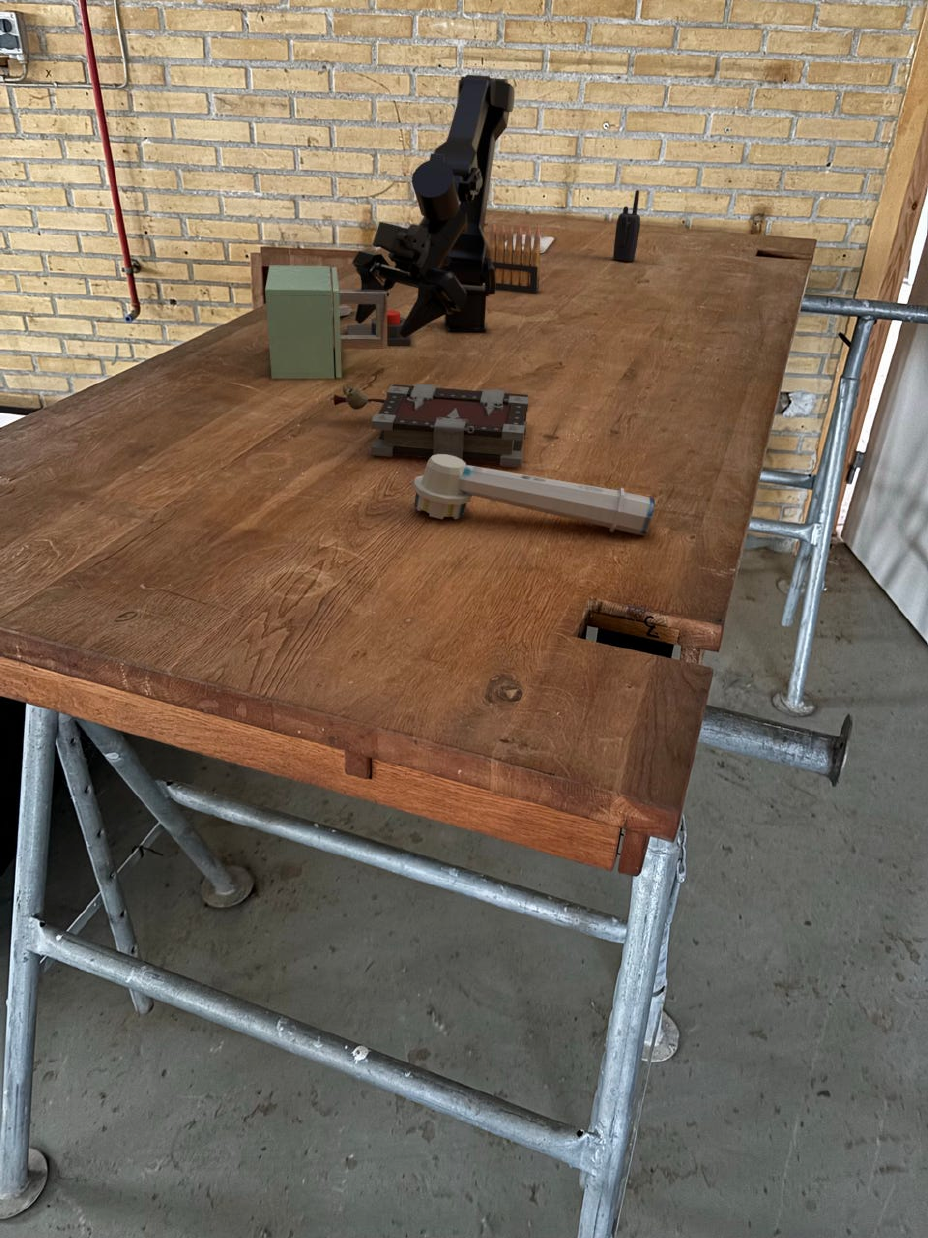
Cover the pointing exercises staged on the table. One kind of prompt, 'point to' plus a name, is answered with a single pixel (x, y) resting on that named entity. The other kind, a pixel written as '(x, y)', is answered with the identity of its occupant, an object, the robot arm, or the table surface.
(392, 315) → the release button
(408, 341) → the button block
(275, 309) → the cabinet
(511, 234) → the ammunition clip
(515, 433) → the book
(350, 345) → the cabinet door
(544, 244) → the tile
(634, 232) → the two-way radio
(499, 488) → the toothbrush head
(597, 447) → the table surface
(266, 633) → the table surface
